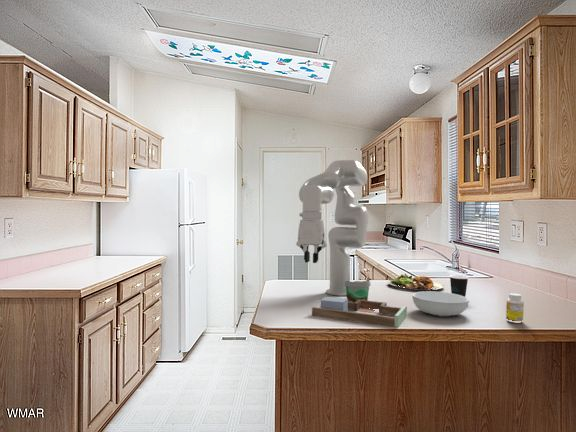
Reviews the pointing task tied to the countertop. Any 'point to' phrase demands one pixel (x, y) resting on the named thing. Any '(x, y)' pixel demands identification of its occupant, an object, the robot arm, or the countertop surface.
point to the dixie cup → (458, 284)
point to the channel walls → (361, 316)
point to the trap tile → (366, 310)
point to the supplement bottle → (514, 307)
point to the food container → (357, 290)
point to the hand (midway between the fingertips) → (311, 261)
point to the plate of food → (415, 283)
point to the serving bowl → (440, 303)
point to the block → (334, 303)
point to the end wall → (400, 316)
